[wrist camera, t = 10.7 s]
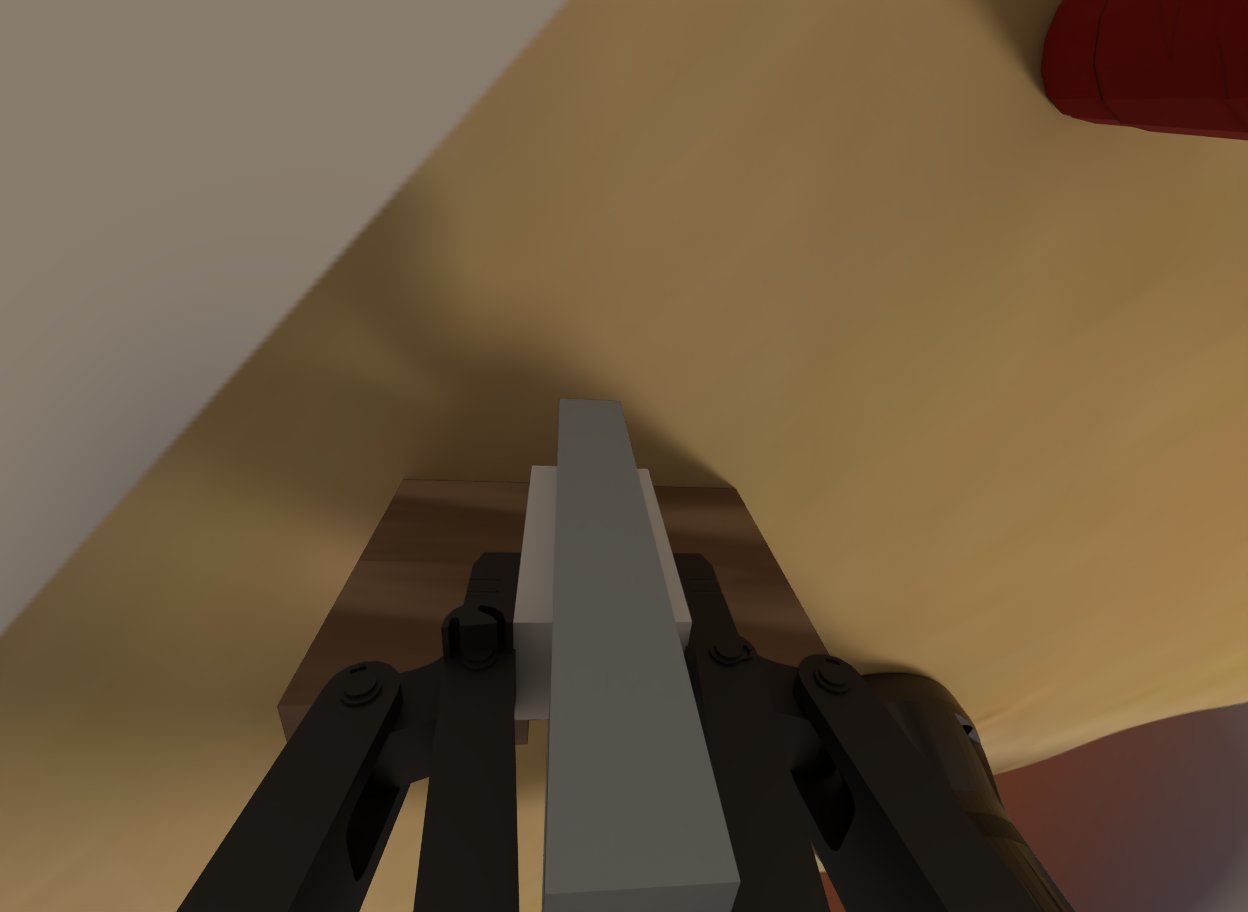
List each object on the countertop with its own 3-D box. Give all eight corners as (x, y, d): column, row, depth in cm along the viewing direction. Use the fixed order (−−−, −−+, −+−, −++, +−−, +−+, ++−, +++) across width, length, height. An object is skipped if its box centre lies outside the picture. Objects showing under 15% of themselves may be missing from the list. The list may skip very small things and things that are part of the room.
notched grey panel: (589, 756, 26) (610, 1284, 14) (546, 757, 26) (528, 1297, 13) (620, 400, 18) (741, 881, 6) (559, 397, 18) (544, 894, 5)
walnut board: (729, 518, 32) (836, 735, 19) (407, 512, 29) (289, 751, 17) (735, 488, 31) (851, 694, 18) (403, 479, 29) (277, 706, 16)
